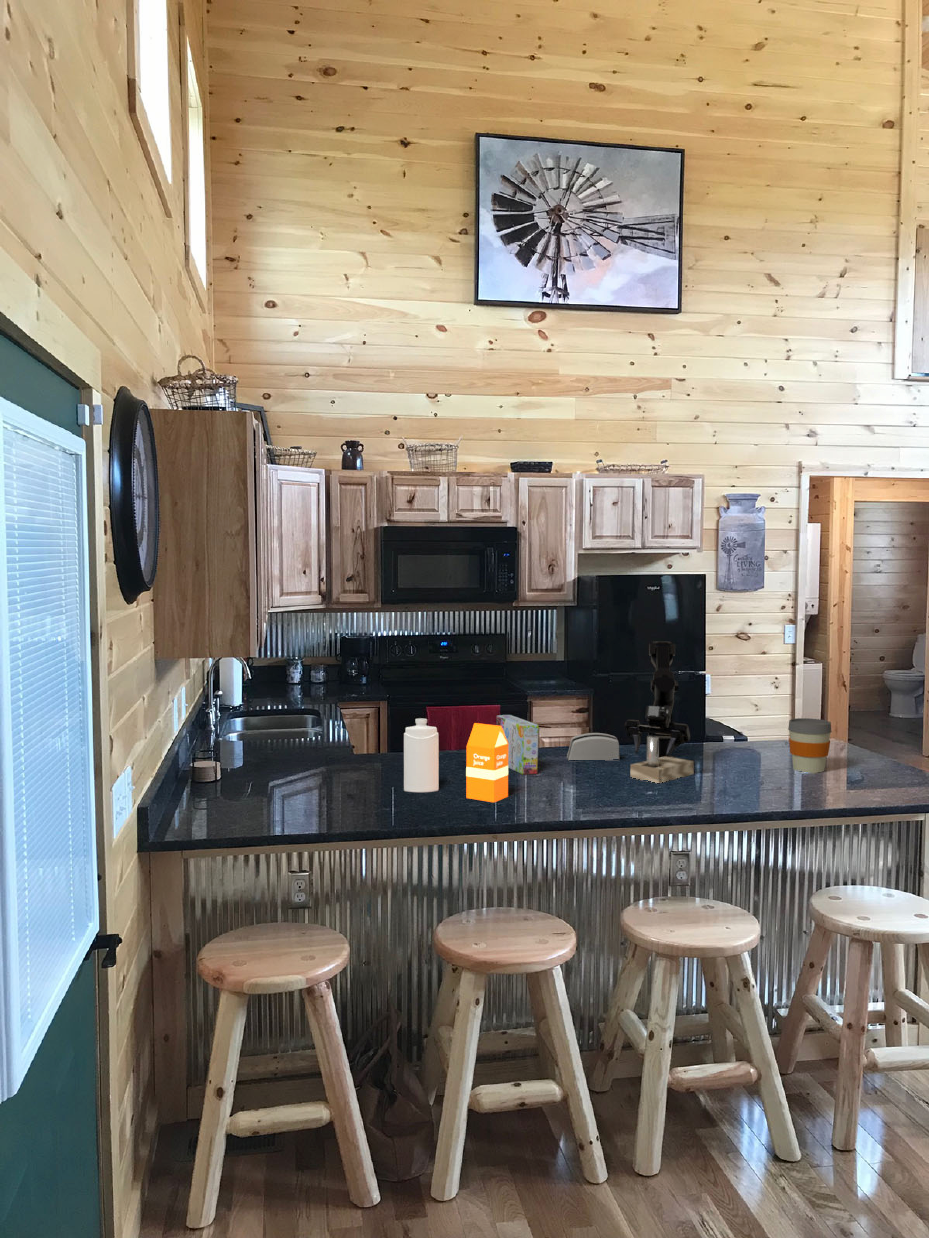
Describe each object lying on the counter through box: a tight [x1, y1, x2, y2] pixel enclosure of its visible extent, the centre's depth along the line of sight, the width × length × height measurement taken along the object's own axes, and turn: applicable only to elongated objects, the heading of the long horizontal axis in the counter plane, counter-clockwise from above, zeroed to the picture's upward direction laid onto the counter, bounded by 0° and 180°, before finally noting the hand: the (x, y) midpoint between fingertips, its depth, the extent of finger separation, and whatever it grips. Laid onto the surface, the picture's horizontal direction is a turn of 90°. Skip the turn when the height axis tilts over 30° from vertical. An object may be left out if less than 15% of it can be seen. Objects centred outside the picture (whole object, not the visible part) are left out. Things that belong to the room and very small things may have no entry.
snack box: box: [495, 714, 540, 776], centre depth 304 cm, size 21×6×15 cm, turn 22°
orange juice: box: [465, 722, 509, 803], centre depth 267 cm, size 8×9×20 cm
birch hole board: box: [629, 756, 695, 784], centre depth 293 cm, size 18×10×4 cm, turn 134°
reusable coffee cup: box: [787, 717, 833, 774], centre depth 302 cm, size 13×13×15 cm
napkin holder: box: [566, 732, 620, 761], centre depth 316 cm, size 17×5×10 cm, turn 96°
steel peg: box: [646, 735, 659, 768], centre depth 290 cm, size 4×4×12 cm
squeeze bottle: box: [403, 717, 440, 793], centre depth 274 cm, size 10×20×5 cm
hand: (651, 754), depth 288 cm, fingers open, 9 cm apart
